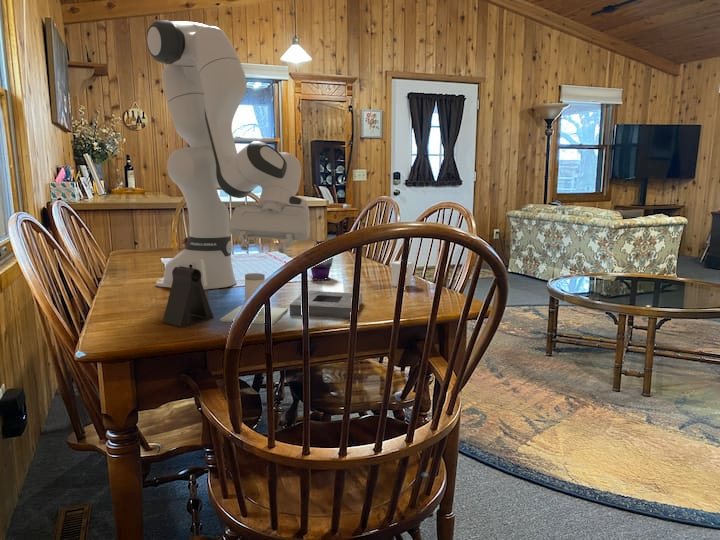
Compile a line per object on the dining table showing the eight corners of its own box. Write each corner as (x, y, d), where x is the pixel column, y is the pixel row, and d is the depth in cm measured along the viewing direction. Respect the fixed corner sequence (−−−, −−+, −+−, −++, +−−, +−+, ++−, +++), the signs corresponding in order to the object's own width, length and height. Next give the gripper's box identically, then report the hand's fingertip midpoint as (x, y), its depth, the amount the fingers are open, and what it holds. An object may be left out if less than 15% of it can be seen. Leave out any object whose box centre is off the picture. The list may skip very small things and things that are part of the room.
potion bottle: (314, 274, 173) (314, 237, 171) (338, 276, 170) (339, 239, 167) (302, 278, 165) (302, 240, 163) (327, 281, 162) (327, 242, 160)
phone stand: (180, 328, 112) (178, 272, 110) (162, 323, 115) (160, 269, 113) (213, 318, 119) (211, 266, 117) (195, 314, 123) (194, 263, 120)
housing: (289, 314, 124) (289, 304, 123) (305, 299, 138) (305, 290, 138) (352, 318, 122) (353, 308, 121) (362, 303, 136) (362, 293, 136)
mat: (220, 321, 117) (220, 318, 117) (240, 307, 129) (240, 305, 129) (272, 324, 116) (272, 322, 115) (287, 310, 127) (287, 308, 127)
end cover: (242, 314, 120) (242, 276, 119) (249, 310, 125) (249, 272, 123) (260, 316, 120) (260, 277, 118) (267, 311, 124) (267, 274, 122)
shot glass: (411, 288, 155) (412, 264, 154) (388, 286, 156) (389, 263, 155) (414, 283, 161) (414, 261, 160) (391, 282, 163) (392, 259, 161)
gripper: (233, 196, 133) (217, 239, 126) (312, 200, 131) (301, 244, 123) (239, 212, 139) (225, 254, 131) (315, 216, 136) (305, 260, 128)
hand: (262, 250), depth 127 cm, fingers open, 8 cm apart
